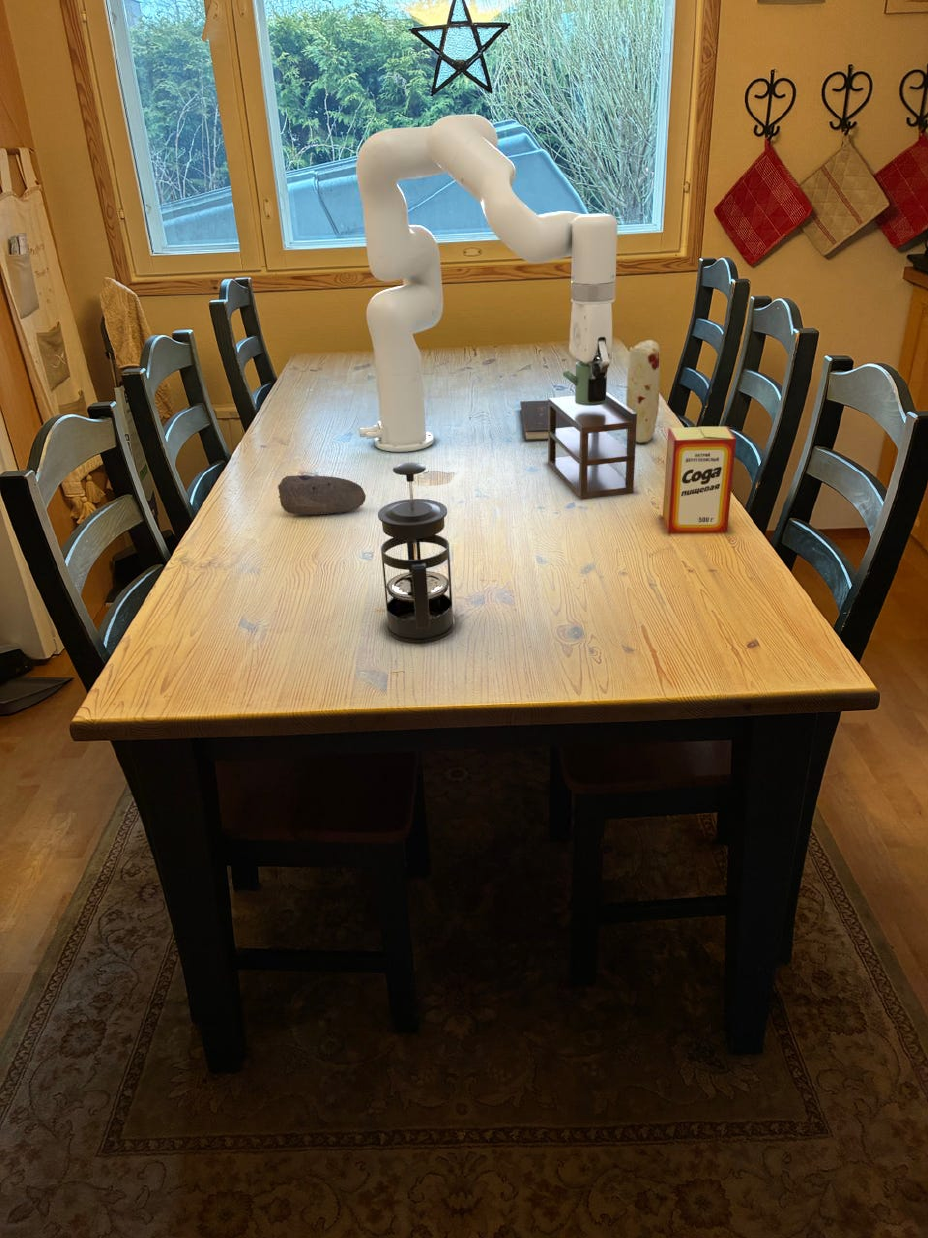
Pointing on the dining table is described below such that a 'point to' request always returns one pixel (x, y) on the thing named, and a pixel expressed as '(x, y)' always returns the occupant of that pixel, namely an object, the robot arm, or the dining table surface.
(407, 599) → the french press
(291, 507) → the perforated stone tool
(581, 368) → the kettle
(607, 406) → the stand
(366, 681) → the dining table surface
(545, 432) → the hardcover book
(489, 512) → the dining table surface
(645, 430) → the food model
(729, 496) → the baking soda box
